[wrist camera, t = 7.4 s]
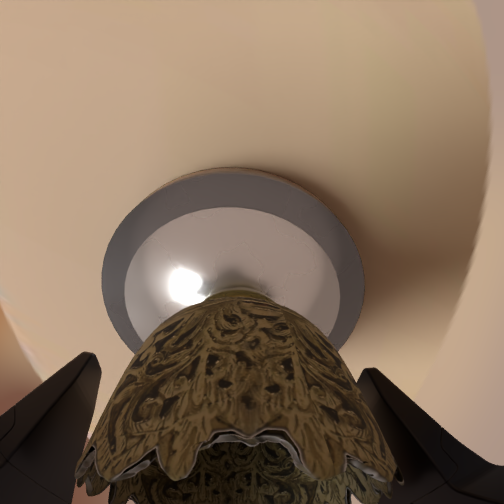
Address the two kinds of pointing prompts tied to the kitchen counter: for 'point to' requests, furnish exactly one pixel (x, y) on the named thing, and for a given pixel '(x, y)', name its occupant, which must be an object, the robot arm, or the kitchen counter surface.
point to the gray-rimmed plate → (231, 253)
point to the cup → (237, 415)
